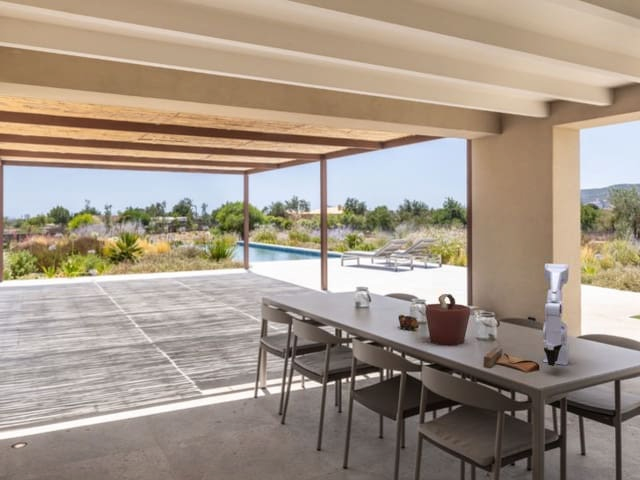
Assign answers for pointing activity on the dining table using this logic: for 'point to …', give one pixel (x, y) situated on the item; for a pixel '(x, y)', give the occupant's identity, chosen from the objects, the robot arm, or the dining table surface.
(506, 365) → the sunglasses case
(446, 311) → the bucket
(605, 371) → the dining table surface
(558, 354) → the robot arm
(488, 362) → the stop bar
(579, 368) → the dining table surface
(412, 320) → the decorative turtle
